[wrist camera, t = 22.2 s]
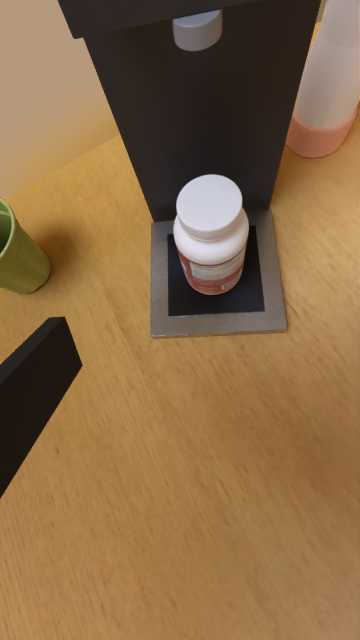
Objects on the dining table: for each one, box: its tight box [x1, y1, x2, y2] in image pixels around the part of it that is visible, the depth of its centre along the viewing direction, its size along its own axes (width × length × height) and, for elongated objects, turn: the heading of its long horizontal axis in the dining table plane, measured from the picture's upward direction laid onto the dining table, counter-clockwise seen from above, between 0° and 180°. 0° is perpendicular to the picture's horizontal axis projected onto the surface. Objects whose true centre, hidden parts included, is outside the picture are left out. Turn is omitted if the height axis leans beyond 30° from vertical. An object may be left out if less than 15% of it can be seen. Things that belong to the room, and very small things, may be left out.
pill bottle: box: [173, 175, 249, 295], centre depth 25 cm, size 6×6×11 cm
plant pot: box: [0, 198, 51, 294], centre depth 31 cm, size 9×9×9 cm
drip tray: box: [151, 210, 287, 339], centre depth 31 cm, size 14×14×2 cm
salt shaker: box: [286, 0, 360, 158], centre depth 26 cm, size 7×7×19 cm
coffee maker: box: [58, 0, 321, 222], centre depth 22 cm, size 10×14×24 cm
